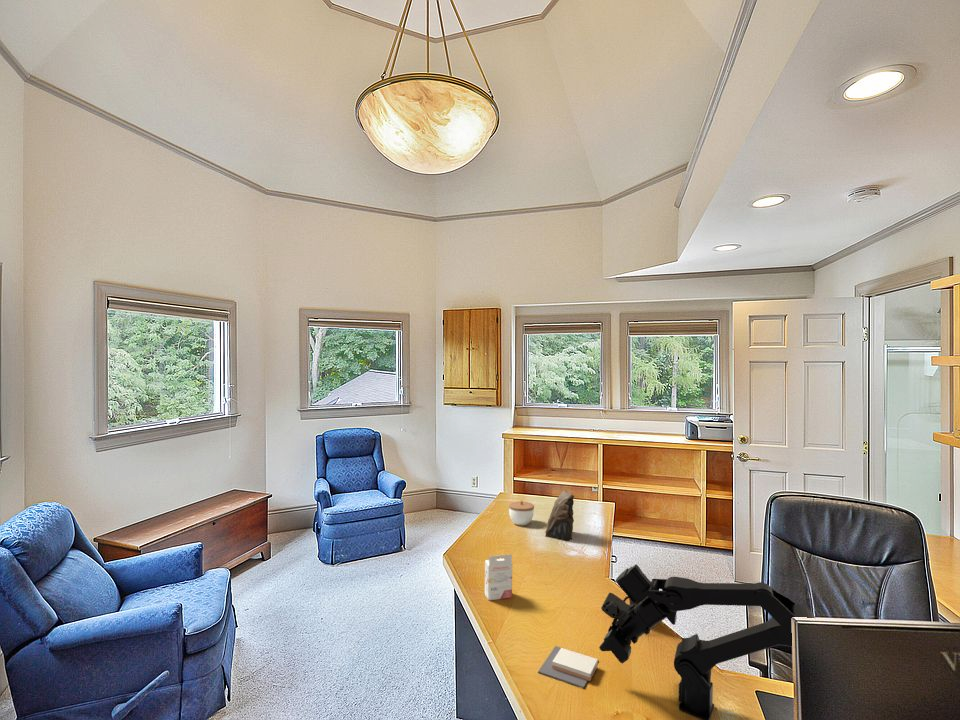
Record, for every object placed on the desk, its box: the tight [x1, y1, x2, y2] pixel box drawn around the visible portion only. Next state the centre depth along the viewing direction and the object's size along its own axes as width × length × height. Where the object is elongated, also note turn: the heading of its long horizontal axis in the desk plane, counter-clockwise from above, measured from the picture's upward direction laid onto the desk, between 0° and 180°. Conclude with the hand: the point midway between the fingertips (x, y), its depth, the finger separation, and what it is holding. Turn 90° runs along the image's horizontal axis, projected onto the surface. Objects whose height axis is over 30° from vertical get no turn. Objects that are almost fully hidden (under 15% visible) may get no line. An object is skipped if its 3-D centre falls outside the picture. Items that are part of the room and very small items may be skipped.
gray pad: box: [537, 645, 597, 689], centre depth 128 cm, size 12×13×1 cm
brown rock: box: [544, 489, 575, 542], centre depth 225 cm, size 13×13×20 cm
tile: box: [552, 647, 599, 682], centre depth 127 cm, size 2×7×10 cm
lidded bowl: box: [508, 500, 535, 526], centre depth 243 cm, size 13×13×11 cm
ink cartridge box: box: [484, 553, 513, 601], centre depth 166 cm, size 9×5×15 cm, turn 105°
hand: (600, 648), depth 124 cm, fingers closed
